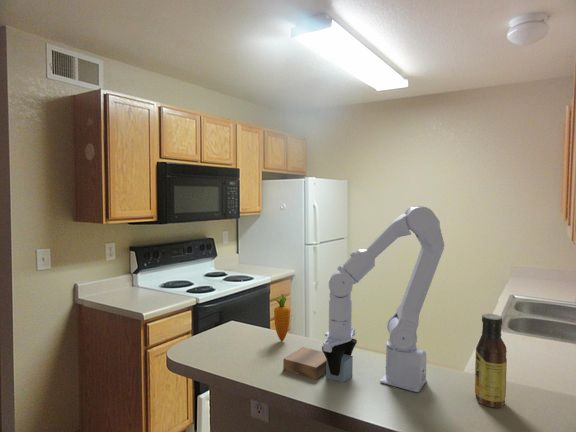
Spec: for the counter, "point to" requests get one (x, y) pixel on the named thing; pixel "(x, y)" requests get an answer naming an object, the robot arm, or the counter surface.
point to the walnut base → (306, 363)
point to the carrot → (281, 318)
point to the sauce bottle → (491, 363)
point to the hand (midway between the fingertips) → (339, 370)
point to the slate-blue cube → (342, 369)
